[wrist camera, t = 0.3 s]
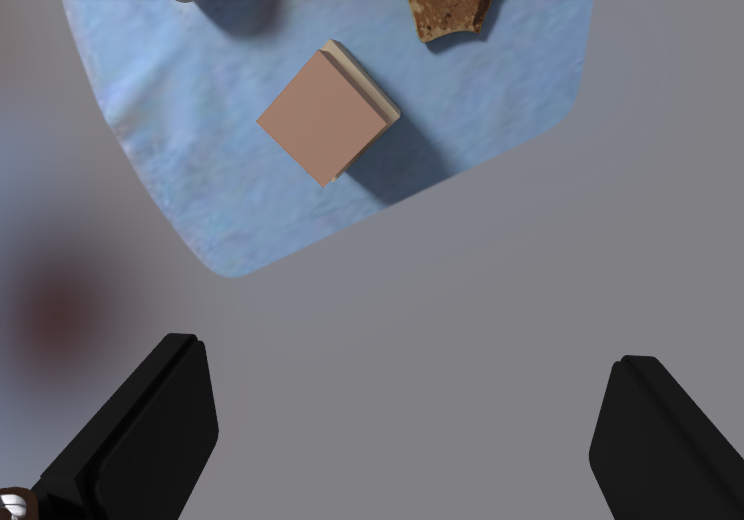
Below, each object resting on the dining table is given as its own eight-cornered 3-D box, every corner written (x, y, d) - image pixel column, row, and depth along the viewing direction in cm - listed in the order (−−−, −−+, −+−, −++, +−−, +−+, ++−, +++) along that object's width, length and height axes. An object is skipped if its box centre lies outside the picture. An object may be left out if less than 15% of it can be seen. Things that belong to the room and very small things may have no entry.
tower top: (328, 51, 30) (318, 49, 27) (389, 117, 32) (386, 123, 28) (272, 115, 32) (255, 121, 29) (332, 174, 34) (323, 187, 30)
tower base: (340, 42, 35) (330, 38, 30) (401, 110, 36) (400, 116, 32) (282, 107, 37) (264, 113, 32) (342, 168, 39) (333, 182, 34)
